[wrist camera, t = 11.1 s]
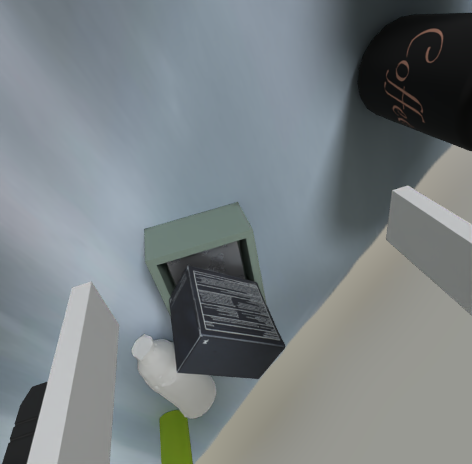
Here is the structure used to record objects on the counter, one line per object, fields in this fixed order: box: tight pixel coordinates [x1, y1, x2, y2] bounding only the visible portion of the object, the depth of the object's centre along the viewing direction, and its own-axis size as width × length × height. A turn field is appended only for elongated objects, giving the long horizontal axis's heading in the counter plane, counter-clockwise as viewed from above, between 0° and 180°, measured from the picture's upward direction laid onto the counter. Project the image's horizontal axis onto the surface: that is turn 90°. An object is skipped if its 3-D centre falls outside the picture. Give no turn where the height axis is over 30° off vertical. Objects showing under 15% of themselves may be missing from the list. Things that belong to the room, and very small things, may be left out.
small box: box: [169, 265, 285, 379], centre depth 37 cm, size 11×6×10 cm, turn 62°
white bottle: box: [131, 334, 216, 419], centre depth 54 cm, size 8×19×8 cm, turn 23°
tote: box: [144, 202, 266, 316], centre depth 44 cm, size 13×16×7 cm
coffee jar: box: [358, 13, 472, 151], centre depth 31 cm, size 11×11×18 cm
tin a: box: [167, 241, 244, 285], centre depth 42 cm, size 9×6×5 cm
